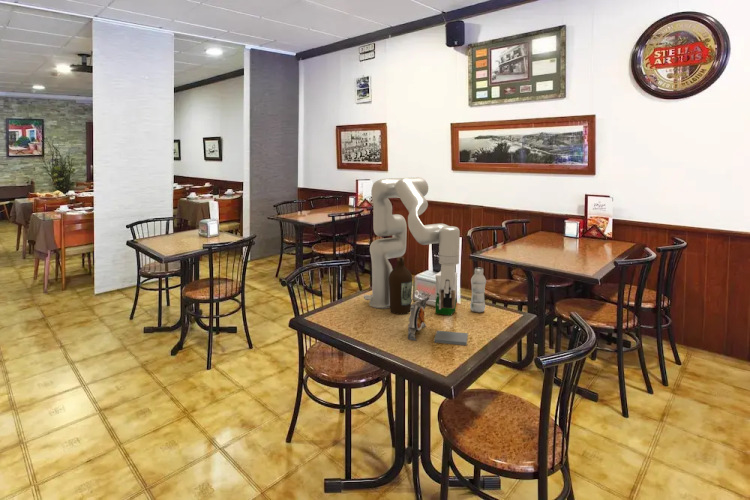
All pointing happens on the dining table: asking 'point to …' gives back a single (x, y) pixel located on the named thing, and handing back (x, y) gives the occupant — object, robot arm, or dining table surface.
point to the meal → (416, 318)
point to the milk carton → (443, 310)
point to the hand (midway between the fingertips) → (448, 305)
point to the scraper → (441, 295)
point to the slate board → (451, 337)
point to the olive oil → (400, 288)
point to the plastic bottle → (478, 291)
